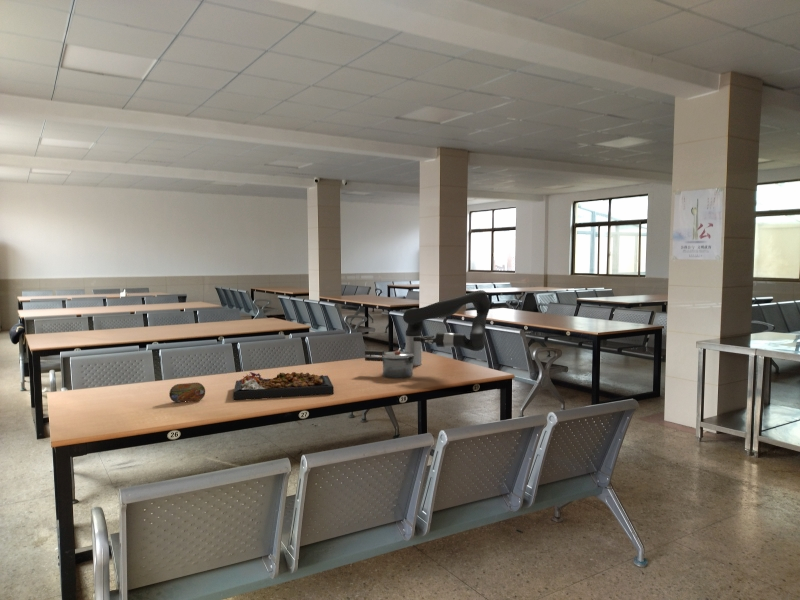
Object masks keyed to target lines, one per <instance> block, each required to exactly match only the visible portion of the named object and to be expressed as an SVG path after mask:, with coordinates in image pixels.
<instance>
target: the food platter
mask: <svg viewBox="0 0 800 600" xmlns="http://www.w3.org/2000/svg"><path fill="white" fill-rule="evenodd" d="M261 376H262V375H260V373H255V372H253V371H250V372H249V374H246V376H243V378H241V379H239V380H236V381H235V384H234V389H233V393H232V396H233V397H232V398H233V400H235V401H247V400H246V399H251V400H263V399H262V398H267V399H277V398H278V399H279V398H281V397H282V398H294V397H295V398H296V397H312V396H313V397H314V396H324V395H325V396H328V395H334V392H335V391H334V385H333V383H332V381H331V379H330V376H329V375H323V374H321V375H318V374H315V373H313V374H310V372H306V373H303V372H300V373H297V372H296V371H293V372H291V373H289V372H286V373H285V372H279V373H278V374H276V376H275V377H272V378H264V377H261Z"/></svg>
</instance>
